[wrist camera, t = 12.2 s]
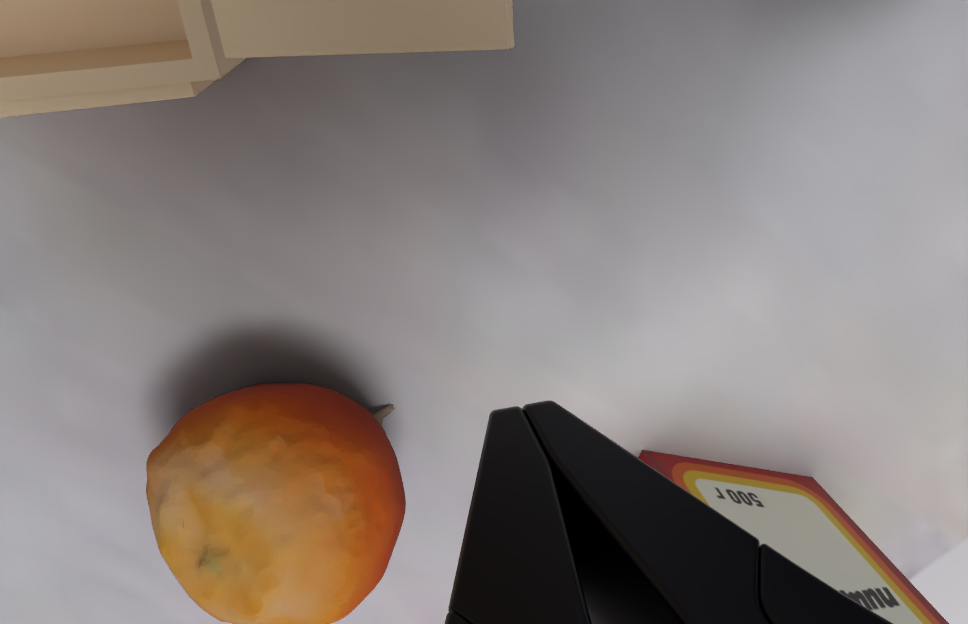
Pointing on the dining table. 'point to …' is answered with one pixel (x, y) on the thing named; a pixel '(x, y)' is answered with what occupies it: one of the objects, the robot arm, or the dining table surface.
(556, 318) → the dining table surface
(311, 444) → the fruit
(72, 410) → the dining table surface
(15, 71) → the carton
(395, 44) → the flap
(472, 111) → the dining table surface
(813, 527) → the baking soda box
